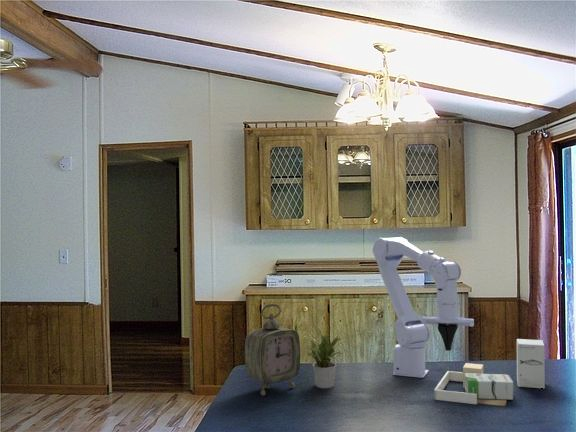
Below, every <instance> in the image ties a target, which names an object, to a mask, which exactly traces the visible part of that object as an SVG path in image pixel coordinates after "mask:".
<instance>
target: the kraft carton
mask: <svg viewBox="0 0 576 432" xmlns="http://www.w3.org/2000/svg"><path fill="white" fill-rule="evenodd" d="M462 372H463V382H462V386H463V389H465V373H476V374H484V364H481V363H470V362H465V364H464V365H463V367H462Z"/></svg>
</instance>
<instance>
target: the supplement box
mask: <svg viewBox="0 0 576 432" xmlns="http://www.w3.org/2000/svg"><path fill="white" fill-rule="evenodd" d="M545 348H546V347H545V344H544V340H543V339H524V338H517V339H516V382H517V387H518V388H534V389H541V388H543V390H544V389H546V380H545V379H546V377H545V372H546V368H545V366H546V365H545V361H546V360H545V358H546V357H545V353H546V352H545V351H546V350H545Z"/></svg>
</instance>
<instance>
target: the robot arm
mask: <svg viewBox="0 0 576 432" xmlns="http://www.w3.org/2000/svg"><path fill="white" fill-rule="evenodd" d="M408 240H409V239H407V238H404V237H402V236H397V237H378V238H376V239H375V240H374V243H373V246H372V254H373V256H374V258H375V261H376V263H377V267H378V270H379V271H378V272H379V273H380V276H381V279H382V281H383V284H384V287H385V288H386V291H387V294H388V297H389V299H390V302H391V304H392V306H393V310H394V312H395V314H396V317H397V318H396V320H395V322H394V324H393V328H394V333H395V339H396V341H397V344H395V345H394V348H393V375H394V376H399V377H400V376H401V377H409V378H410V377H412V378H421V379H422V378H425V377H426V376H427V374H428V373H429V372H430V371H429V369H426V346H427V345H428V344H427V342H428V341H429V340H430V338H431V330H430V327H429V325H437V330H438V332H439V334H440V336H441V338H442V341H443V344H444V349H445V351H449V352H450V351H452V350H453V349H452V348H453V342H454V338H455V334H456V333H457V330H458V328H459V326H460V327H462V326H463V327H472V328H473V327H474V326H475V319H474V318H467V317H459V314H458V313H459V311H458V280H459V279H460V278H461V275H462V269H461V266H460V264H458V263H457V262H456V261H455V260H450V261H447V260H446V258H445V257H440V256H438V255H437V254H435V251H433V250H425V251H422V250H420V249H419V248H417V246H415V245H413V244H412V243H410V242H409V241H408ZM404 257H406V258H409V259H410V260H413V261H415V262H416V263H417V266H418V268H419V269H421V270H423V271H425V272H427V274H430V275H431V276H432V278H433V281H434V286H435V288H436V309H437V316H420V315H419V314H418V313H416V312H415V311H414V308H413V306H412V303H411V301H410V299H409V296H408V293H407V291H406V289H405V286H404V284H403V281H402V279H401V276H400V274H399V272H398V269H397V267H398V266H399V265H400V264H401V262H402V260H403V258H404Z"/></svg>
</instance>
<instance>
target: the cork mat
mask: <svg viewBox="0 0 576 432" xmlns="http://www.w3.org/2000/svg"><path fill="white" fill-rule="evenodd" d="M507 401H508V399H477V404H480V405H481V404H483V405H489V406H497V407H498V406H500V407H506V404H507Z"/></svg>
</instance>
